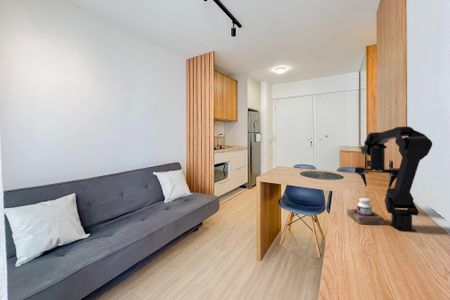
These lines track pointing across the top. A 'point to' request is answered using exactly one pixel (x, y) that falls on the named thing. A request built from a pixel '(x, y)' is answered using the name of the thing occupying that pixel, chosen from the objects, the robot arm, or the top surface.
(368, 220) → the socket
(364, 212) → the pill bottle
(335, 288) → the top surface
